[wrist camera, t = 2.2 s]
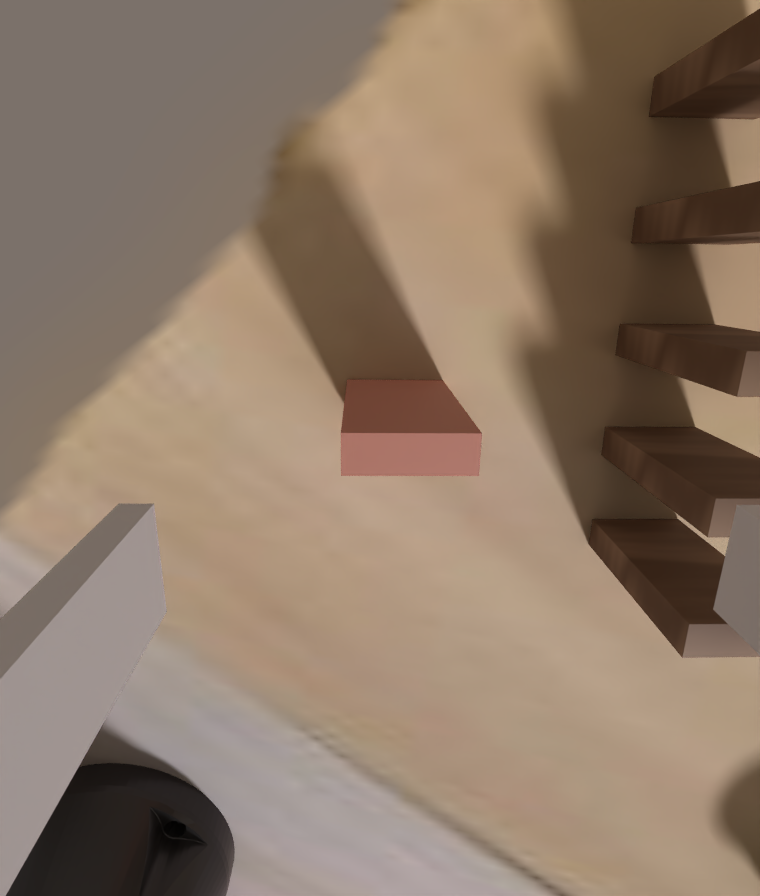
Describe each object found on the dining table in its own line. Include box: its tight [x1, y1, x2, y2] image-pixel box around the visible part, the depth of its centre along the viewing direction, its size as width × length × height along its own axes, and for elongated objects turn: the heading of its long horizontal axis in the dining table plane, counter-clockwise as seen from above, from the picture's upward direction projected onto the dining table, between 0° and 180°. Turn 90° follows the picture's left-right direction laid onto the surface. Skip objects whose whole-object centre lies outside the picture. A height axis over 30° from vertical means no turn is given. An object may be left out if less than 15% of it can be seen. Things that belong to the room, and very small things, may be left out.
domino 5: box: [601, 427, 760, 537], centre depth 26 cm, size 2×5×10 cm, turn 89°
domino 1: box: [341, 379, 482, 476], centre depth 25 cm, size 2×5×10 cm, turn 89°
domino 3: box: [631, 181, 760, 245], centre depth 23 cm, size 2×5×10 cm, turn 89°
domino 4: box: [616, 324, 760, 397], centre depth 25 cm, size 2×5×10 cm, turn 89°
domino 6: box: [589, 519, 760, 658], centre depth 28 cm, size 2×5×10 cm, turn 89°
